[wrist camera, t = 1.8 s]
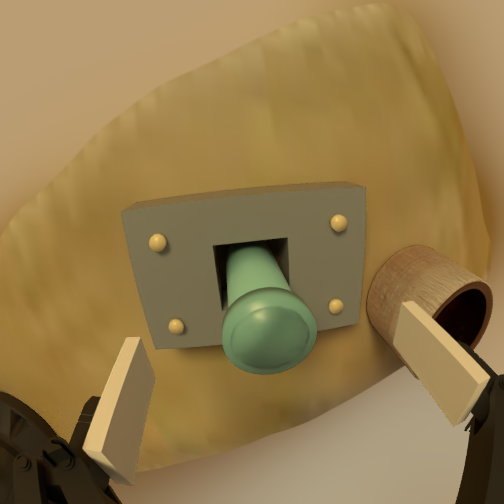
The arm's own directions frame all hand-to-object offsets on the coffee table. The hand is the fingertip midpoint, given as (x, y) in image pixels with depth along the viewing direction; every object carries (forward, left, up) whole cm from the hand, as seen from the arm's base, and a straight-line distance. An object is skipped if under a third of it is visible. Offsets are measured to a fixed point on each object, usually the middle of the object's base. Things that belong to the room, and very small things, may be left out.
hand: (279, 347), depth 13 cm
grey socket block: (0, 0, -13) cm, 13 cm away
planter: (+17, -6, -13) cm, 22 cm away
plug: (0, 0, -13) cm, 13 cm away
